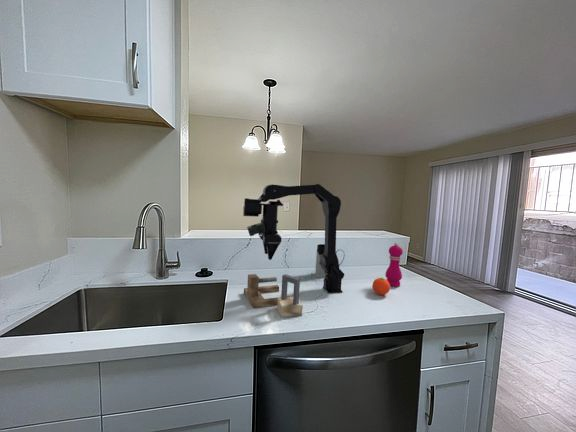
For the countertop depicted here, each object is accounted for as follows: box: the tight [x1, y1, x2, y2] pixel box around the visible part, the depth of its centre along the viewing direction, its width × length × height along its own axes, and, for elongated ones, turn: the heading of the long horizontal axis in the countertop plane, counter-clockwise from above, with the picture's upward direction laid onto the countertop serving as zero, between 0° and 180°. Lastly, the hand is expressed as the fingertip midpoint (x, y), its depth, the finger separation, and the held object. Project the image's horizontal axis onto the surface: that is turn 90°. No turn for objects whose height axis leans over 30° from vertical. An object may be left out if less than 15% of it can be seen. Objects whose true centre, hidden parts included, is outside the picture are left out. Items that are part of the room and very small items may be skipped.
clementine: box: [371, 277, 391, 296], centre depth 107 cm, size 8×7×7 cm
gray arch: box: [280, 273, 301, 305], centre depth 86 cm, size 2×6×8 cm, turn 50°
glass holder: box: [313, 243, 346, 279], centre depth 128 cm, size 9×14×15 cm, turn 79°
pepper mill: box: [384, 241, 404, 288], centre depth 119 cm, size 7×7×20 cm
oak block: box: [276, 296, 304, 318], centre depth 87 cm, size 7×7×4 cm
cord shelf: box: [243, 273, 291, 309], centre depth 97 cm, size 14×14×9 cm
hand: (268, 256), depth 101 cm, fingers open, 9 cm apart
